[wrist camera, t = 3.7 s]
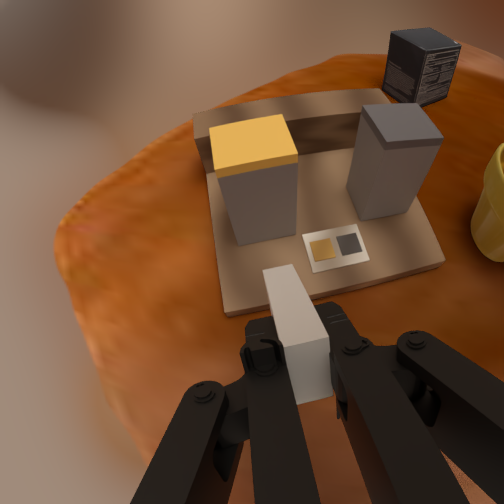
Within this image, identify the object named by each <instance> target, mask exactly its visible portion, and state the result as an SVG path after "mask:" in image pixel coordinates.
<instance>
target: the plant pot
mask: <svg viewBox="0 0 504 504" xmlns="http://www.w3.org/2000/svg"><path fill="white" fill-rule="evenodd" d="M471 233H472V237H473V239H474V242H475V244H476V245H477V247H478V249H479V250H480V251H481V252H482V254H484V255H485V256H486V257H487V258H489V259H490V260H492V261H495V262H504V143H502V144H501V145H500V146H499V147H498V148H497V150H496V151H495V153H494V155H493V156H492V158H491V160H490V162H489V163H488V165H487V167H486V170H485V173H484V188H483V191H482V194H481V196H480V199H479V201H478V204H477V206H476V209H475V211H474V213H473V216H472V219H471Z"/></svg>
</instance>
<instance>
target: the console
mask: <svg viewBox="0 0 504 504" xmlns="http://www.w3.org/2000/svg"><path fill="white" fill-rule="evenodd" d="M373 104H391V102H390V101H389V100H388V99H387V97H386V96H385V95H384V94H383V92H382V91H381V90H380V89H379V88H375V89H352V90H338V91H326V92H315V93H306V94H298V95H290V96H283V97H276V98H269V99H263V100H257V101H251V102H246V103H241V104H236V105H231V106H226V107H221V108H216V109H212V110H208V111H203V112H200V113H195V114H193V127H194V140H195V142H196V145H197V148H198V151H199V154H200V157H201V160H202V163H203V166H204V169H205V172H206V175H207V184H208V193H209V201H210V209H211V218H212V225H213V233H214V241H215V249H216V256H217V263H218V271H219V278H220V285H221V292H222V298H223V305H224V312H225V314H226V315H227V316H228V317H232V316H237V315H243V314H248V313H253V312H258V311H263V310H268V309H270V305H269V300H268V295H267V290H266V285H265V280H264V275H263V270H265V269H270V268H275V267H279V266H284V265H289V264H292V265H293V267H294V269H295V270H296V272H297V274H298V276H299V278H300V280H301V282H302V284H303V286H304V288H305V290H306V292H307V294H308V296H309V298H310V300H314V299H319V298H323V297H327V296H331V295H336V294H340V293H344V292H348V291H352V290H356V289H360V288H364V287H368V286H372V285H376V284H380V283H383V282H387V281H391V280H395V279H398V278H402V277H406V276H409V275H413V274H416V273H420V272H423V271H427V270H430V269H434V268H437V267H439V266H440V265H441V264H442V263H443V262H444V261H445V257H444V255H443V252H442V250H441V248H440V245H439V243H438V241H437V238H436V236H435V234H434V232H433V229H432V227H431V225H430V223H429V221H428V219H427V217H426V215H425V212H424V210H423V208H422V206H421V204H420V202H419V200H418V198H417V196H415V198H414V200H413V202H412V204H411V206H410V208H409V210H408V211H407V212H406V213H401V214H396V215H391V216H385V217H380V218H375V219H370V220H365V221H360V219H359V216H358V214H357V212H356V209H355V207H354V204H353V202H352V199H351V197H350V195H349V192H348V190H347V188H346V184H347V180H348V176H349V171H350V166H351V162H352V157H353V152H354V147H355V142H356V137H357V132H358V126H359V121H360V115H361V110H362V105H373ZM279 114H282V115H283V118H284V120H285V123H286V125H287V127H288V130H289V132H290V135H291V137H292V140H293V142H294V145H295V147H296V150H297V152H298V182H297V219H296V234H295V235H290V236H285V237H280V238H276V239H271V240H266V241H261V242H256V243H251V244H246V245H242V246H238V243H237V240H236V237H235V234H234V230H233V227H232V224H231V221H230V218H229V215H228V211H227V208H226V205H225V202H224V199H223V195H222V192H221V189H220V186H219V183H218V179H217V176H216V173H215V170H214V162H213V155H212V147H211V139H210V132H209V128H211V127H216V126H220V125H225V124H230V123H234V122H239V121H245V120H250V119H255V118H261V117H267V116H273V115H279Z"/></svg>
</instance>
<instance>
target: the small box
mask: <svg viewBox="0 0 504 504" xmlns="http://www.w3.org/2000/svg"><path fill="white" fill-rule="evenodd" d="M461 46H462V45H461V44H459V43H457V42H456V41H454V40H452V39H450V38H449V37H447V36H445V35H443V34H441V33H439V32H437V31H436V30H434V29H432V28H419V29H407V30H398V31H391V35H390V42H389V50H388V56H387V63H386V69H385V74H384V80H383V85H382V90H383V91H384V92H386V93H387V94H389V95H390V96H391V97H393V98H394V99H395V100H397V101H398V102H400V103H417V104H418V105H419V106H420V107H423V106H426V105H428V104H431V103H433V102H436V101H438V100H441V99H443V98H446V97H447V94H448V91H449V87H450V84H451V81H452V77H453V74H454V71H455V67H456V64H457V61H458V57H459V53H460V49H461Z"/></svg>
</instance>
